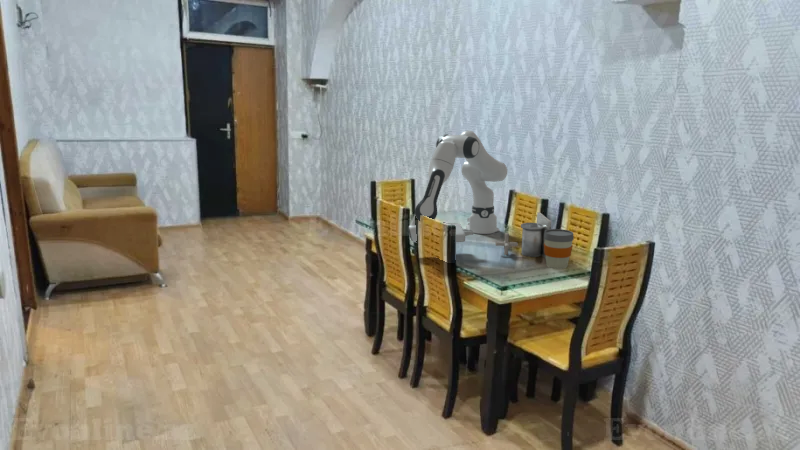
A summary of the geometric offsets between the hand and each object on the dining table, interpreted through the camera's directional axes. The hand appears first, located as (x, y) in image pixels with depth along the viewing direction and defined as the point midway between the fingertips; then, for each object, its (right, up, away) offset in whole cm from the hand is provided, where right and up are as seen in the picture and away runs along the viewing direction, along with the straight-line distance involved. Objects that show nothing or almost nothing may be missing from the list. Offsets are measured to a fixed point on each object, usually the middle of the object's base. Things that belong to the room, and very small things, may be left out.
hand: (472, 232), depth 260 cm
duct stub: (+28, -10, +2) cm, 30 cm away
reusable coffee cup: (+35, -15, -15) cm, 41 cm away
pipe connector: (+16, -11, +2) cm, 19 cm away
